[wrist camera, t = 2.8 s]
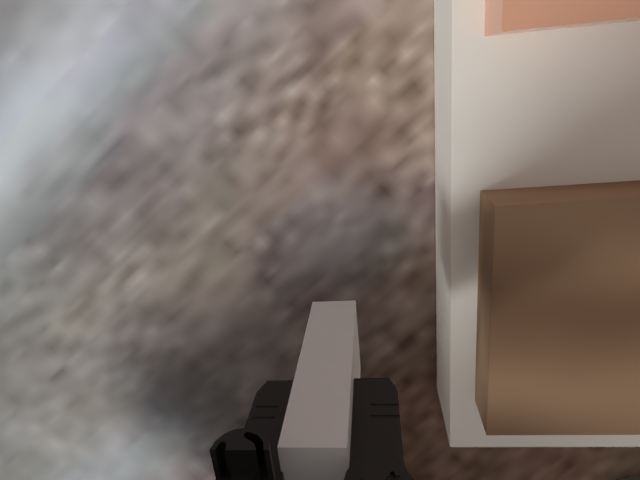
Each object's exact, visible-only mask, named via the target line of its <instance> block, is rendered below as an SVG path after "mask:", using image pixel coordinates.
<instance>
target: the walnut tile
mask: <svg viewBox="0 0 640 480" xmlns="http://www.w3.org/2000/svg"><path fill="white" fill-rule="evenodd" d="M475 402H476V405H477V408H478V411H479V414H480V417H481V420H482V423H483V426H484V429H485V432H486V435H640V180H636V181H621V182H605V183H590V184H575V185H559V186H544V187H528V188H513V189H497V190H482V191H480V218H479V256H478V294H477V333H476V371H475Z"/></svg>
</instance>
